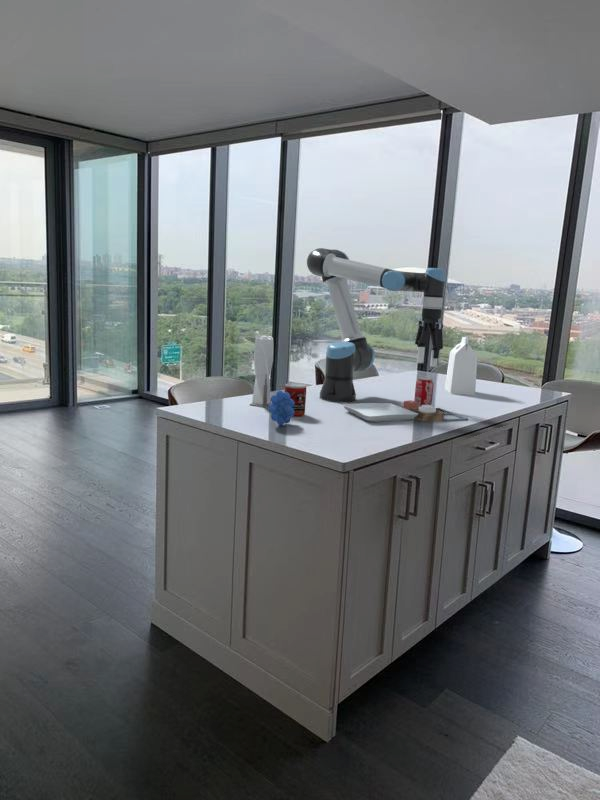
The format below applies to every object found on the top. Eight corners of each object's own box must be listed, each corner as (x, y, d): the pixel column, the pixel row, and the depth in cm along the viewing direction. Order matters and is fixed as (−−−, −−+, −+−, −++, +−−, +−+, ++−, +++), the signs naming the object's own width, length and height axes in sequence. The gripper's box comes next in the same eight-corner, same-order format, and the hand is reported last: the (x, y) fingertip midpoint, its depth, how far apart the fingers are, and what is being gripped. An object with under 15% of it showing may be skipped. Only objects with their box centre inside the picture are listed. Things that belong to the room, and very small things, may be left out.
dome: (423, 416, 225) (424, 408, 224) (414, 412, 231) (415, 404, 230) (438, 416, 227) (439, 407, 227) (429, 412, 233) (430, 404, 232)
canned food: (289, 417, 218) (291, 386, 216) (280, 412, 225) (281, 383, 223) (308, 416, 222) (310, 386, 220) (298, 411, 229) (300, 382, 227)
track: (445, 421, 226) (445, 419, 226) (417, 409, 244) (417, 408, 244) (468, 420, 230) (468, 418, 230) (438, 409, 248) (439, 407, 248)
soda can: (433, 407, 252) (436, 378, 249) (429, 409, 245) (432, 380, 243) (416, 404, 254) (418, 376, 252) (411, 407, 248) (414, 378, 246)
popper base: (422, 421, 224) (423, 413, 223) (409, 416, 232) (410, 408, 231) (443, 420, 227) (444, 412, 226) (430, 415, 235) (430, 407, 234)
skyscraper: (246, 404, 235) (249, 331, 230) (256, 401, 243) (259, 330, 237) (265, 407, 232) (269, 333, 227) (275, 404, 239) (279, 332, 234)
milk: (475, 395, 285) (481, 339, 280) (450, 393, 285) (456, 337, 280) (468, 390, 297) (474, 336, 292) (444, 389, 297) (450, 335, 292)
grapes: (277, 430, 199) (279, 393, 196) (263, 426, 203) (264, 390, 201) (302, 425, 207) (304, 390, 205) (287, 421, 212) (289, 387, 209)
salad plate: (340, 412, 234) (341, 403, 233) (389, 410, 242) (390, 401, 241) (367, 425, 215) (367, 415, 214) (418, 423, 223) (419, 413, 222)
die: (410, 413, 237) (411, 402, 236) (403, 411, 240) (403, 400, 239) (417, 412, 239) (418, 402, 239) (410, 410, 242) (411, 400, 242)
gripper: (456, 310, 234) (450, 368, 238) (425, 306, 253) (420, 360, 258) (439, 309, 231) (433, 368, 235) (409, 306, 251) (404, 360, 255)
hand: (426, 364), depth 246 cm, fingers open, 9 cm apart
